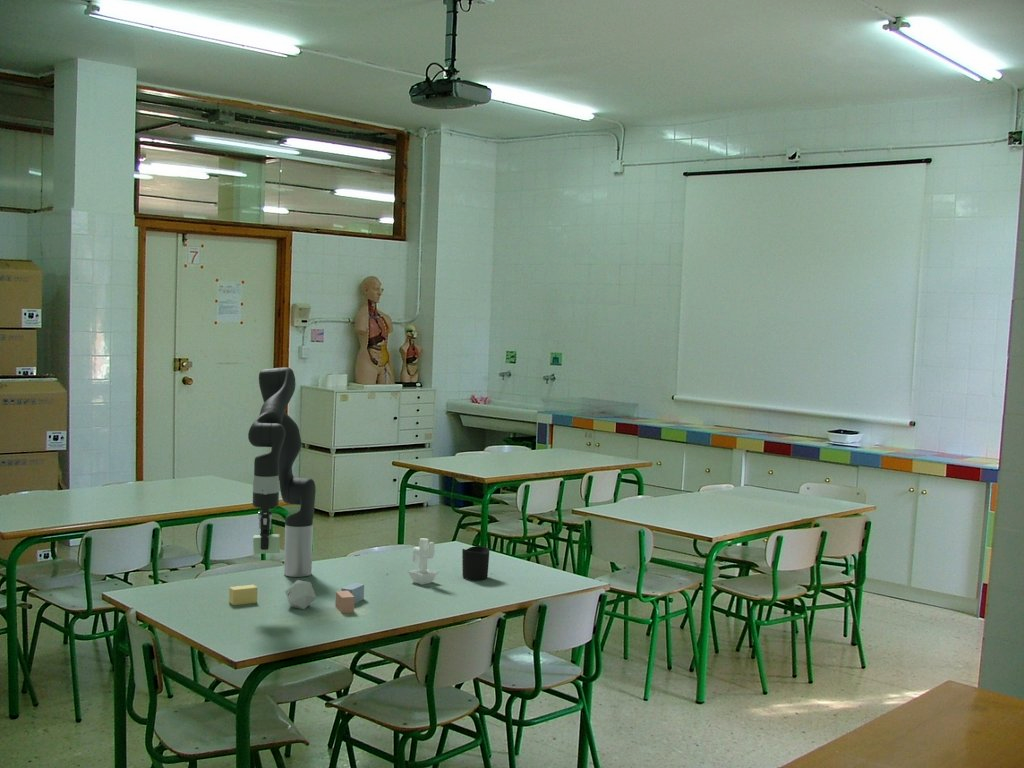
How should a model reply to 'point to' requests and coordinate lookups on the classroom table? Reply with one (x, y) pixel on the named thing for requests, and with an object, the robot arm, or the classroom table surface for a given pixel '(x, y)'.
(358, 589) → the slate brick
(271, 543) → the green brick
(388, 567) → the classroom table surface
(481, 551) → the pen holder
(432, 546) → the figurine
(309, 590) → the die
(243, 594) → the ochre brick
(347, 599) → the terracotta brick
